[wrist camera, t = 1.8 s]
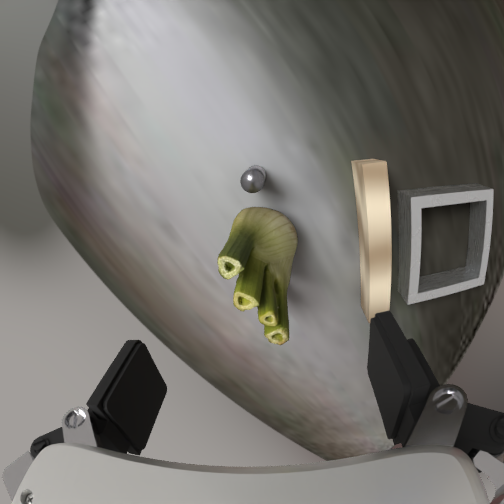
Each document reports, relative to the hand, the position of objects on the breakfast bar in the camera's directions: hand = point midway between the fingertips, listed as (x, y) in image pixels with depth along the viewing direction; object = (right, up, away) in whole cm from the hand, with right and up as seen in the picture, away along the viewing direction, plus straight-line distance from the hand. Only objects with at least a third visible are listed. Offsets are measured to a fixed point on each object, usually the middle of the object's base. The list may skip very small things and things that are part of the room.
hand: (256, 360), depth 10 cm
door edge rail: (+10, +5, +13) cm, 18 cm away
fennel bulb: (+1, +6, +14) cm, 15 cm away
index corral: (+18, +6, +12) cm, 23 cm away
